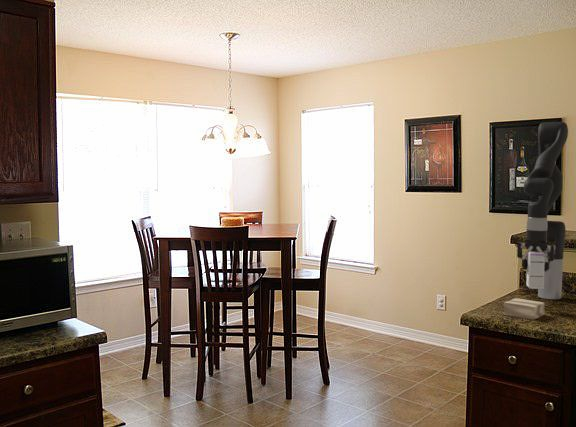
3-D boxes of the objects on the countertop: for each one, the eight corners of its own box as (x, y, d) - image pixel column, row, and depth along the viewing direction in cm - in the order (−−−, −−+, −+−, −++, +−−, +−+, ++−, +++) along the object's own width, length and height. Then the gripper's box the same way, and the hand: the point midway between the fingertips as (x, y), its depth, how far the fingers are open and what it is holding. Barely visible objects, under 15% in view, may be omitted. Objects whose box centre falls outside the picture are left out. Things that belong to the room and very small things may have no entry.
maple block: (515, 310, 229) (515, 298, 229) (544, 315, 222) (544, 302, 221) (503, 315, 221) (504, 302, 221) (533, 320, 214) (533, 307, 213)
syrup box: (544, 289, 227) (545, 252, 226) (528, 288, 228) (529, 252, 227) (541, 286, 233) (542, 250, 231) (525, 285, 234) (526, 249, 232)
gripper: (558, 229, 227) (557, 270, 228) (521, 226, 236) (519, 266, 237) (553, 231, 221) (551, 273, 222) (515, 228, 230) (513, 269, 231)
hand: (535, 270), depth 230 cm, fingers closed on syrup box, 7 cm apart
